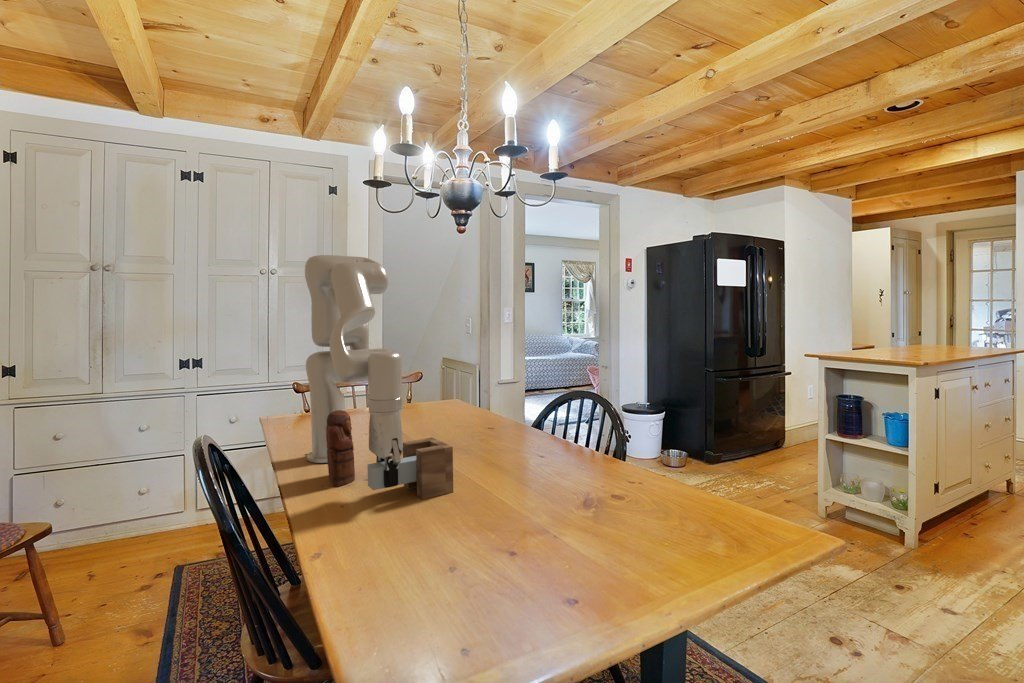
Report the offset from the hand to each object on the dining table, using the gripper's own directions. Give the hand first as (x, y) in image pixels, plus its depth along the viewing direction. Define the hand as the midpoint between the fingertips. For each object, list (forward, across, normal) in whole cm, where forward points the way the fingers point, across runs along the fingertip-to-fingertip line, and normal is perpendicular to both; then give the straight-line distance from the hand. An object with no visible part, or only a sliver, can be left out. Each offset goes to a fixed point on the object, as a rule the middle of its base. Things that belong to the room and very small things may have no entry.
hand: (387, 483), depth 119 cm
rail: (0, 0, +3) cm, 3 cm away
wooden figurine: (+4, -20, -5) cm, 21 cm away
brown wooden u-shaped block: (+4, 0, +10) cm, 11 cm away
